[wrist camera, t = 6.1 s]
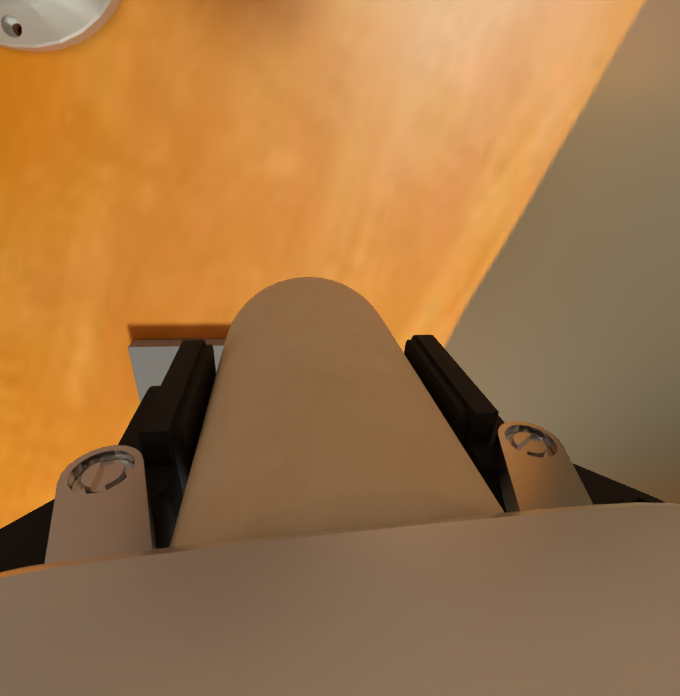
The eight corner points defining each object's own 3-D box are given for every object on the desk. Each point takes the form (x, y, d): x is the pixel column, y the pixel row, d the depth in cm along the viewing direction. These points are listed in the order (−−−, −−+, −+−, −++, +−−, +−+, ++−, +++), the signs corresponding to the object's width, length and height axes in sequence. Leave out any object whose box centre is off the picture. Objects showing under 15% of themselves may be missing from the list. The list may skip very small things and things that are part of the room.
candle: (403, 287, 12) (710, 616, 4) (366, 420, 15) (497, 813, 6) (231, 261, 11) (69, 662, 2) (220, 411, 14) (119, 886, 5)
